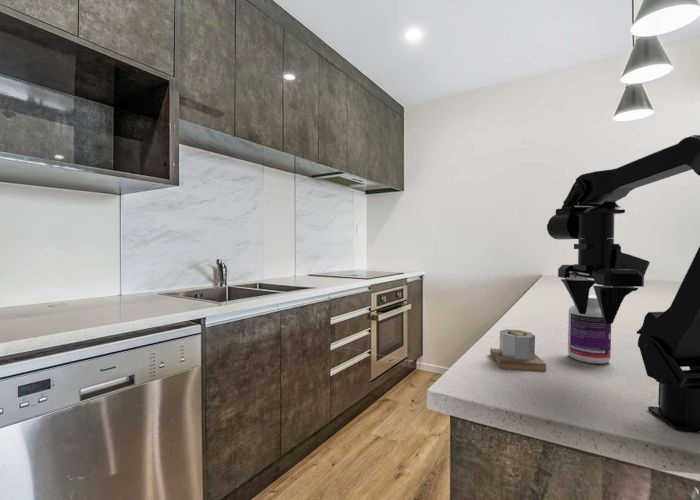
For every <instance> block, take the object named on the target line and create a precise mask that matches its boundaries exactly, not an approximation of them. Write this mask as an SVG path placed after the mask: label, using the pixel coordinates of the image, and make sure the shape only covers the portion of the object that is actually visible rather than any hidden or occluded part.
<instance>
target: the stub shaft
mask: <svg viewBox="0 0 700 500" xmlns="http://www.w3.org/2000/svg"><path fill="white" fill-rule="evenodd" d="M511 334H512V335H516V336H523V333H520V332H511ZM499 352H500V348H490V350H489V353H490V356H491V358H492V359H493V360H494V362H495V363H496V364H497V366H498V368H499V369H503V370H521V371H522V370H523V371H536V372H537V371H539V372H547V363H546V362H545V361H544V360H543V359H541V358H540V357H539V356H538V355H537V354H536V353H535V359H532V360H530V361H517V360H512V359H508V358H505V357H502V355H501V354H500V353H499Z"/></svg>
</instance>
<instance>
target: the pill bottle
mask: <svg viewBox="0 0 700 500" xmlns="http://www.w3.org/2000/svg"><path fill="white" fill-rule="evenodd" d="M567 329H568V335H567V336H568V338H567V339H568V341H567V353H568V356H570V357H571V358H572V359H574V360H577V361H578V362H579V361H580V362H582V363H586V364H600V365H601V364H607V363H609V362H610V361H611V354H612V347H611V346H612V324H606V323H605V321H604V319H603V316H602V313H601V310H600V306H599V303H598V300H597V297H596V295H594V294H593V295H591V294H589V297H588V305H587V310H586V314H580V313H579V312H578V310H577V308H576V306H575V304H573V305H570V307H569V308H568V328H567Z"/></svg>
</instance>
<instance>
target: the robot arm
mask: <svg viewBox="0 0 700 500" xmlns="http://www.w3.org/2000/svg"><path fill="white" fill-rule="evenodd" d="M689 171H693V172H694V173H695V174H696V175H697V176H699V177H700V134H693V135H690V136H687V137H684V138H682V139H681V140H680V141H679V142H677V143H674V144H672V145H670V146H669V145H668V146H666V147H664V148H662V149H659V150H657V151H654V152H653V153H649V154H647V155H645V156H643V157H641V158H638V159H636V160H635V159H634V160H633V161H630V162H628V163H626V164H623V165H621V166H619V167H615V168H612V169H605V170H597V171H595V170H594V171H592V172H587V173H581V175H579V176H577V177H576V179H575V182H574V183H572V186H571V188H570V191H569V192H568V194H567V196H566V198H565V199H564V200H563V204H562V206H561V207H560V208H556V209H555V214H554V215H552V216H551V217H550V218H549V220H548V222H547V224H546V231H547V233H548V235H549V236H550V237H551V238H553V239H555V240H557V241H558V240H560V241H561V240H578V242H577V243H574V244H573V250H577V251H578V252H577V263H574V264H561V265H560V266H559V268H558V269H557V277H558V278H561V279H560V281H561V283H563V285H564V287H565V289H566V290H567V291H568V294H569V295H570V298H571V300H572V302H573V305H575V306H576V308H577V310H578V312H579V313H580V314H586V310H587V305H588V297H589V295H590V290H591V288H592V287H593V290H594V293H595V296H596V297H597V300H598V303H599V306H600V310H601V313H602V316H603V319H604V321H605V323H606V324H611V325H612V324H614V322H615V320H616V317H617V314H618V311H619V309H620V307H621V306H622V303H623V301H624V299H625V297H627V296H628V295H629V294H631V293H632V292H636V291H638V290H639V288H643V287H645V276H646V273H647V270H648V268H649V266H650V263H651V261H649V260H646V259H645V258H644V259H643V258H640V257H637V256H635V255H631V254H629V253H624V252H622V246H621V245H620V243H615V215H620V214H625V213H626V210H625V208H623V207H622V206H620V205H618V203H617V202H618V201H620V200H622V199H623V198H626V197H627V195H628V194H629V193H631V191H633V190H634V189H637V188H640V187H643V186H645V185H650V184H653V183H655V182H657V181H661V180H664V179H668V178H670V177H674V176H676V175H680V174H682V173H686V172H689ZM636 335H639V336H638V339H637V347H638V348H639V352H640V355H641V358H642V362H643V365H644V368H645V371H646V375H647V377H649V378H652V379H654V380H655V382H658V403H657V405H658V406H652V405H651V406H648V407H647V410H648V411H649V412H651V413H652V414H653V415H655V416H656V417H658V419H661V420H662V421H664V422H665V423H667V424H668V425H669V426H671V427H672V428H674V429H675V430H677V431H682V432H683V431H684V432H685V431H686V432H695V433H700V245H699V246H698V248H697V251H696V253H695V254H694V257H693V259H692V260H691V263H690V265H689V267H688V269H687V271H686V274H685V275H684V278H683V280H682V282H681V284H680V286H679V288H678V290H677V292H676V294H675V296H674V297H673V299H672V302H671V305H670V306H669V307H668V308H667V309H666V310H664V311H648V312H647V313H646V314H645V316H644V318H643V323H642V325H641V326H640V328H639V329H638V330H637V331H636ZM684 367H685V368H689V369H682V368H684Z"/></svg>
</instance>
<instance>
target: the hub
mask: <svg viewBox="0 0 700 500" xmlns="http://www.w3.org/2000/svg"><path fill="white" fill-rule="evenodd" d="M511 332H520V333H523V336H516V335H512V334H511ZM499 349H500V352H499V353H500V354H501V355H502V357H505V358H508V359H512V360H517V361H530V360H532V359H535V354H536V350H535V349H536V335H535V334H533V333H532V332H530V331H526V330H521V329H502V330H500V331H499Z"/></svg>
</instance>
